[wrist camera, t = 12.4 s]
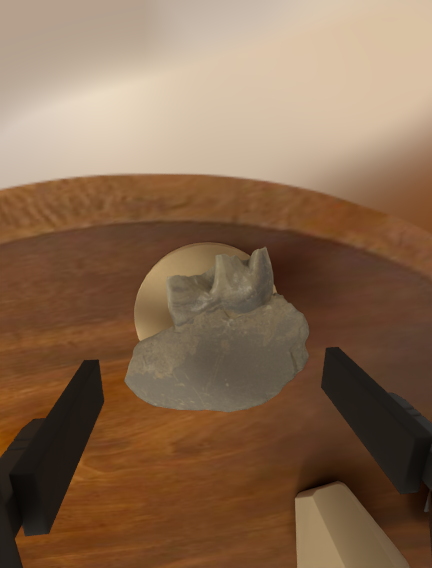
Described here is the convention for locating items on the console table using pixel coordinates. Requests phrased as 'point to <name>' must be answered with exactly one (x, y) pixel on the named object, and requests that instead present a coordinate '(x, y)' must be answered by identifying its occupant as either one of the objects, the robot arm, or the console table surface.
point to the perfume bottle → (340, 532)
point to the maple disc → (183, 262)
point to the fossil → (221, 340)
